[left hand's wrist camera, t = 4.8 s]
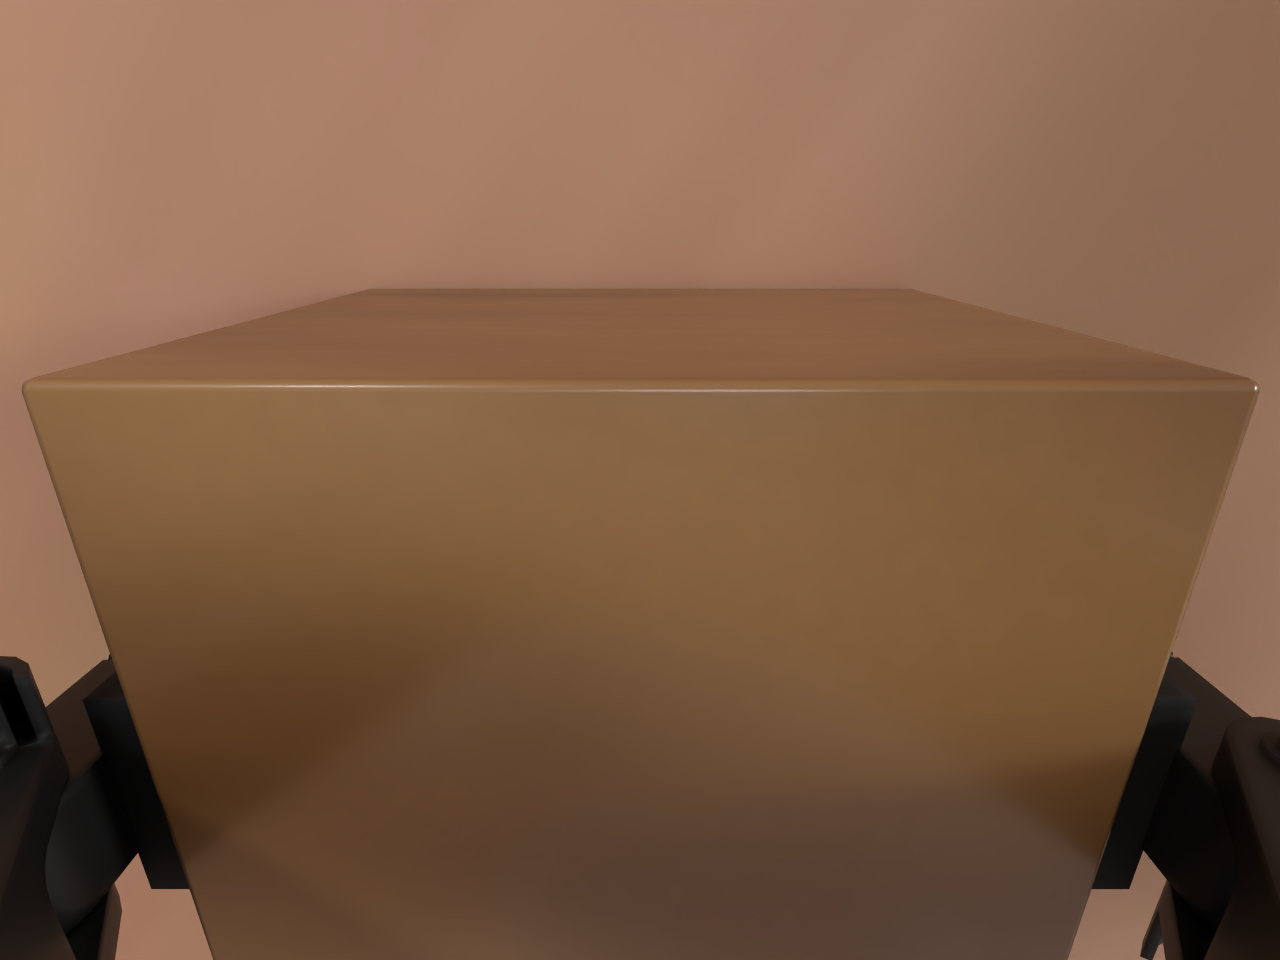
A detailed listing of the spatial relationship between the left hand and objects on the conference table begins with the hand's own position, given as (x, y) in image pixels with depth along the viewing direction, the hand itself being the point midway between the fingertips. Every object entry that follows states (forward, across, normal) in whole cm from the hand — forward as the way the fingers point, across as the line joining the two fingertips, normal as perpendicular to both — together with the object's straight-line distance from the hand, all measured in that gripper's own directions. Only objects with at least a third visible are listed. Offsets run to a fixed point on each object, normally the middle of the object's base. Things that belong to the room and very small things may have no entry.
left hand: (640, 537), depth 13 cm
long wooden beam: (+1, 0, -31) cm, 31 cm away
